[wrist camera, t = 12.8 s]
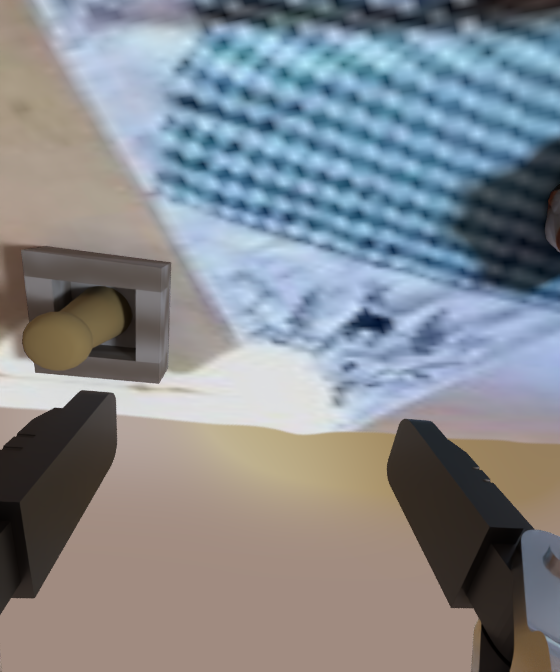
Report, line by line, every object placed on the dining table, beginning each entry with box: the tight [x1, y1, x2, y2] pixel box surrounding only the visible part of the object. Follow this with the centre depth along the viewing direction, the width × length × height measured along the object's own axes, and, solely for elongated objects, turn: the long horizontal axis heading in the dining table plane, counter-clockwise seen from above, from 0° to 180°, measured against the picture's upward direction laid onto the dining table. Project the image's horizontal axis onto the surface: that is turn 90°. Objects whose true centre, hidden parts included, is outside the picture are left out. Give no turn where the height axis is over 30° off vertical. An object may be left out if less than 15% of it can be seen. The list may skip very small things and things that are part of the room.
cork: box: [22, 286, 132, 371], centre depth 32 cm, size 6×6×11 cm
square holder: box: [21, 246, 171, 384], centre depth 36 cm, size 13×13×4 cm
